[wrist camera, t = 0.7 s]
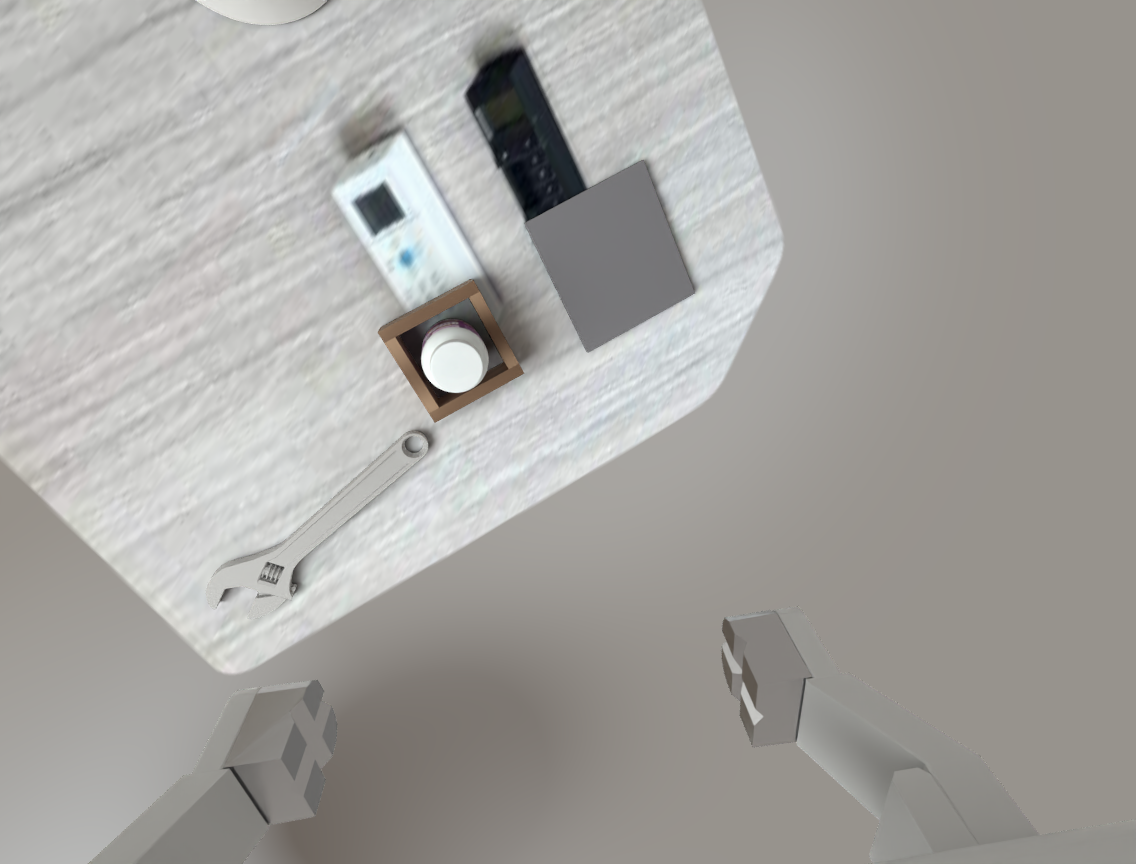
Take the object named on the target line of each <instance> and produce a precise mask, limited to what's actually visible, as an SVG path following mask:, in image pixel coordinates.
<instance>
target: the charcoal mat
mask: <svg viewBox="0 0 1136 864" xmlns="http://www.w3.org/2000/svg"><path fill="white" fill-rule="evenodd" d="M524 224H525V226H526V228H527V230H528V232H529V234H530V236H531V238H532V240H533V242H534V245H535V247H536V249H537V251H538V253H539V255H540V257H541V259H542V261H543V263H544V265H545V267H546V269H547V271H548V273H549V275H550V278H551V280H552V282H553V284H554V286H555V288H556V290H557V292H558V294H559V296H560V298H561V300H562V302H563V304H564V306H565V308H566V310H567V313H568V315H569V317H570V319H571V321H572V323H573V325H574V327H575V329H576V331H577V333H578V335H579V337H580V339H581V341H582V343H583V346H584V348H585V350H586V352H590V351H592V350H594V349H595V348H597V347H599V346H601V345H603V344H604V343H606V342H608V341H610V340H612V339H613V338H615V337H617V336H619V335H621V334H622V333H624V332H626V331H628V330H630V329H631V328H633V327H635V326H637V325H639V324H640V323H642V322H644V321H646V320H648V319H649V318H651V317H653V316H655V315H657V314H658V313H660V312H662V311H664V310H666V309H667V308H669V307H671V306H673V305H675V304H676V303H678V302H680V301H682V300H684V299H685V298H687V297H689V296H691V295H693V294H694V293H695V292H694V290H693V287H692V284H691V282H690V279H689V277H688V274H687V272H686V269H685V266H684V264H683V261H682V259H681V256H680V253H679V251H678V248H677V246H676V243H675V240H674V238H673V235H672V233H671V230H670V228H669V225H668V222H667V220H666V217H665V215H664V212H663V209H662V207H661V204H660V202H659V199H658V196H657V194H656V191H655V189H654V186H653V183H652V181H651V178H650V176H649V173H648V171H647V168H646V165H645V163H644V160H642V161H640V162H638V163H636V164H634V165H632V166H630V167H629V168H627V169H625V170H623V171H621V172H619V173H617V174H615V175H614V176H612V177H610V178H608V179H606V180H604V181H602V182H600V183H599V184H597V185H595V186H593V187H591V188H589V189H587V190H586V191H584V192H582V193H580V194H578V195H576V196H574V197H572V198H571V199H569V200H567V201H565V202H563V203H561V204H559V205H557V206H556V207H554V208H552V209H550V210H548V211H546V212H544V213H542V214H541V215H539V216H537V217H535V218H533V219H531V220H529V221H527V222H526V223H524Z"/></svg>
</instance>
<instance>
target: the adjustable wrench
mask: <svg viewBox="0 0 1136 864" xmlns="http://www.w3.org/2000/svg"><path fill="white" fill-rule="evenodd" d="M412 436H416V437H419V438H420V439H421V440H422V442H423V447H422V449H421V450H420V451H419V452H416V453H411V452H409V451H408V450H407V449H406V447H405V442H406V440H407V439H408V438H409V437H412ZM427 451H428V440H427V438H426V436H425V435H424V434H423V433H421V432H419V431H409V432H407V433H405V434H404V435H403V436H401V437H400V438H399V439H398V440H397V441H396V442H395V443H394V444H392V445H391V446H390V447H389V448H388V449H387V450H386V451H385V452H384V453H382V454H381V455H380V456H379V457H378V458H377V459H376V460H375V461H373V462H372V463H371V464H370V465H369V466H368V467H367V468H366V469H364V470H363V471H362V472H361V473H360V474H359V475H358V476H357V477H356V478H354V479H353V480H352V481H351V482H350V483H349V484H348V485H347V486H345V487H344V488H343V489H342V490H341V491H340V492H339V493H338V494H337V495H335V496H334V497H333V498H332V499H331V500H330V501H329V502H328V503H326V504H325V505H324V506H323V507H322V508H321V509H320V510H319V511H318V512H316V513H315V514H314V515H313V516H312V517H311V518H310V519H309V520H307V521H306V522H305V523H304V524H303V525H302V526H301V527H300V528H298V529H297V530H296V531H295V532H294V533H293V534H292V535H291V536H290V537H288V538H287V539H286V540H285V541H283V542H282V543H281V544H279V545H277V546H275V547H273V548H270V549H267V550H265V551H262V552H260V553H257V554H254V555H251V556H247V557H243V558H239V559H236V560H232V561H229V562H227V563H225V564H224V565H222V566H221V567H219V568H218V569H217V570H216V572H215V573H214V575H213V576H212V578H211V580H210V581H209V583H208V585H207V589H206V599H207V601H208V603H209V606H210V607H211V608H213V609H216V607H217V606H218V604H219V602H220V600H221V598H222V596H223V593H224V591H225V589H227V588H234V587H241V586H243V587H246V588H250V589H253V590H256V591H257V592H258V594H257V597H256V599H255V601H254V603H253V605H252V607H251V610H250V612H249V614H248V616H247V618H248V619H256V618H259V617H262V616H265V615H267V614H269V613H271V612H272V611H274V610H275V609H276V608H278V607H279V606H280V605H281V604H282V603H283V602H284V601H285V600H286V599H289V600H291V599H292V597H293V594H294V591H295V589H296V587H297V585H296V584H293V583H292V575H293V570H294V568H295V566H296V565H297V563H298V562H299V561H300V560H301V559H302V558H303V557H305V556H306V555H307V554H308V553H309V552H310V551H312V550H313V549H314V548H315V547H316V546H318V545H319V544H320V543H321V542H322V541H324V540H325V539H326V538H327V537H328V536H330V535H331V534H332V533H333V532H334V531H336V530H337V529H338V528H339V527H340V526H341V525H343V524H344V523H345V522H346V521H347V520H349V519H350V518H351V517H352V516H353V515H355V514H356V513H357V512H358V511H359V510H361V509H362V508H363V507H364V506H365V505H366V504H368V503H369V502H370V501H371V500H372V499H374V498H375V497H376V496H377V495H378V494H380V493H381V492H382V491H383V490H384V489H386V488H387V487H388V486H389V485H390V484H391V483H393V482H394V481H395V480H396V479H397V478H399V477H400V476H401V475H402V474H403V473H405V472H406V471H407V470H408V469H409V468H411V467H412V466H413V465H414V464H415V463H416V462H418V461H419V460H420V459H421V458H422V457H424V455H425V454H426V453H427ZM269 562H270V563H269ZM278 565H279V566H278ZM281 566H283V567H281Z"/></svg>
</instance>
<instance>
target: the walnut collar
mask: <svg viewBox="0 0 1136 864" xmlns="http://www.w3.org/2000/svg"><path fill="white" fill-rule="evenodd" d="M467 298H469V300H470V301H471V303H472V305H473V307H474V309H475V311H476V312H477V314H478V316H479V318H480V320H481V321H482V323H483V325H484V327H485V329H486V330H487V332H488V334H489V336H490V338H491V340H492V341H493V343H494V345H495V347H496V349H497V350H498V352H499V354H500V356H501V358H502V359H503V361H504V362H503V363H501V364H500V365H498V366H496V367H494V368H492V369H490V370H489V371H487V372H486V374H485V376H484V378H483V379H482V381H481V382H480V383H479V384H478V385H476V386H475V387H474V388H472V389H470V390H468V391H465V392H460V393H451V392H449V393H447V394H445V395H443V396H441V397H440V398H438V397H437V395H436V394H435V392H434V390H433V389H432V387H431V386H430V384H429V382H428V381H427V379H426V378H425V376H424V374H423V373H422V371H421V369H420V368H419V366H418V365H417V363H416V361H415V360H414V358H413V357H412V355H411V353H410V352H409V350H408V348H407V347H406V345H405V344H404V342H403V340H402V339H401V337H400V336H399V335H400V334H402V333H404V332H406V331H408V330H410V329H411V328H413V327H415V326H417V325H419V324H421V323H423V322H424V321H426V320H428V319H430V318H432V317H434V316H435V315H437V314H439V313H441V312H443V311H445V310H447V309H448V308H450V307H452V306H454V305H456V304H458V303H460V302H461V301H463V300H465V299H467ZM378 334H379V335H380V337H381V338H382V340H383V342H384V343H385V345H386V346H387V348H388V349H389V351H390V353H391V354H392V356H393V357H394V359H395V361H396V362H397V364H398V365H399V367H400V368H401V370H402V372H403V373H404V375H405V376H406V378H407V379H408V381H409V383H410V384H411V386H412V387H413V389H414V391H415V392H416V394H417V395H418V397H419V398H420V400H421V402H422V403H423V405H424V406H425V408H426V409H427V411H428V413H429V414H430V416H431V417H432V419H433V420H434V422H437V421H439V420H441V419H443V418H444V417H446V416H448V415H450V414H452V413H453V412H455V411H457V410H459V409H461V408H462V407H464V406H466V405H468V404H470V403H472V402H473V401H475V400H477V399H479V398H481V397H482V396H484V395H486V394H488V393H490V392H491V391H493V390H495V389H497V388H499V387H500V386H502V385H504V384H506V383H508V382H509V381H511V380H513V379H515V378H517V377H519V376H520V375H522V374H524V372H523V370H522V369H521V367H520V365H519V363H518V361H517V359H516V358H515V356H514V354H513V352H512V350H511V348H510V346H509V345H508V343H507V341H506V339H505V337H504V335H503V334H502V332H501V330H500V328H499V326H498V324H497V322H496V321H495V319H494V317H493V315H492V313H491V311H490V309H489V308H488V306H487V304H486V302H485V300H484V298H483V297H482V295H481V293H480V291H479V289H478V287H477V285H476V284H475V282H474V280H472V279H470V280H468V281H466V282H464V283H462V284H460V285H458V286H457V287H455V288H453V289H451V290H449V291H447V292H445V293H444V294H442V295H440V296H438V297H436V298H434V299H432V300H431V301H429V302H427V303H425V304H423V305H421V306H419V307H418V308H416V309H414V310H412V311H410V312H408V313H406V314H405V315H403V316H401V317H399V318H397V319H395V320H393V321H391V322H390V323H388V324H386V325H384V326H382V327H381V328H380V329H379V331H378Z"/></svg>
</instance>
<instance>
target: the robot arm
mask: <svg viewBox="0 0 1136 864" xmlns="http://www.w3.org/2000/svg"><path fill="white" fill-rule="evenodd" d="M196 1H197V2H199V3H200V4H202V5H204V6H205V7H207V8H209V9H211V10H212V11H214V12H216V13H219V14H221V15H223V16H226V17H228V18H231V19H234V20H237V21H241V22H245V23H250V24H257V25H278V24H285V23H289V22H293V21H296V20H299V19H301V18H303V17H306V16H308V15H309V14H311V13H313V12H314V11H316V10H317V9H318V8H320V7H321V6H322V5H323V4H324V3H325V2H326V1H327V0H196ZM722 624H723V625H722V632H723V634H724V637H725V639H726V642H725V643H724V644H723V645H722V664H723V670H724V674H725V678H726V681H727V684H728V687H729V689H730V692H731V695H733V696H734V697H735V698H737V699H738V700H739V701H740V718H741V720H742V722H743V725H744V727H745V730H746V732H747V735H748V737H749V740H750V742H751V745H752V747H759V746H768V745H775V744H783V743H791V742H797V745H798V746H799V747H800V748H801V749H802V750H803V751H804V752H806V753H807V754H808V755H809V756H810V757H811V758H812V759H813V760H814V761H815V762H816V763H817V764H818V765H820V766H821V767H822V768H823V769H824V770H825V771H826V772H827V773H828V774H829V775H831V776H832V777H833V778H834V779H835V780H836V781H837V782H838V783H839V784H840V785H841V786H843V787H844V788H845V789H846V790H847V791H848V792H849V793H850V794H851V795H852V796H853V797H854V798H856V799H857V800H858V801H859V802H860V803H861V804H862V805H863V806H864V807H865V808H866V809H868V810H869V811H870V812H871V813H872V814H873V815H874V816H875V817H876V818H877V819H879V820H880V822H879V825H878V828H877V831H876V835H875V838H874V842H873V845H872V848H871V851H870V855H869V857H870V859H871V860H872V863H869V864H1136V819H1135V820H1128V821H1122V822H1116V823H1110V824H1104V825H1098V826H1092V827H1086V828H1080V829H1073V830H1067V831H1061V832H1055V833H1049V834H1043V835H1039V833H1038V832H1037V831H1036V829H1035V828H1034V827H1033V825H1032V824H1031V823H1030V821H1029V820H1028V819H1027V817H1026V816H1025V815H1024V813H1023V812H1022V811H1021V809H1020V808H1019V807H1018V806H1017V804H1016V803H1015V801H1014V800H1013V799H1012V797H1011V796H1010V795H1009V793H1008V792H1007V791H1006V790H1005V788H1004V787H1003V786H1002V784H1001V783H1000V782H999V780H998V779H997V778H996V776H995V775H994V774H993V772H992V771H991V770H990V768H989V767H988V766H987V764H986V763H985V762H984V760H983V759H982V758H981V756H980V755H978V754H976V753H975V752H973V751H972V750H970V749H969V748H967V747H965V746H964V745H962V744H961V743H959V742H958V741H956V740H954V739H953V738H951V737H950V736H948V735H947V734H945V733H943V732H942V731H940V730H939V729H937V728H935V727H934V726H933V725H931V724H929V723H928V722H926V721H925V720H923V719H921V718H920V717H918V716H917V715H915V714H913V713H912V712H910V711H909V710H907V709H906V708H904V707H903V706H901V705H899V704H898V703H896V702H895V701H893V700H892V699H890V698H888V697H887V696H885V695H884V694H882V693H881V692H879V691H877V690H876V689H874V688H873V687H871V686H870V685H868V684H867V683H865V682H863V681H862V680H860V679H859V678H857V677H856V676H854V675H852V674H851V673H841V671H840V670H839V668H838V666H837V665H836V664H835V662H834V660H833V658H832V657H831V655H830V654H829V652H828V650H827V649H826V647H825V646H824V644H823V642H822V641H821V639H820V638H819V636H818V634H817V633H816V632H815V630H814V628H813V626H812V625H811V623H810V621H809V620H808V618H807V617H806V615H805V614H804V612H803V610H802V609H800V608H799V607H798V606H797V607H790V608H784V609H777V610H773V611H771V610H768V611H762V612H756V613H750V614H743V615H738V616H732V617H725V618H724V620H723V623H722ZM323 693H324V690H323V688H322V686H321V684H320V683H319V681H318V680H312V681H305V682H296V683H288V684H281V685H272V686H264V687H258V688H250V689H243V690H237V691H236V692H235V693H234V694H233V695H232V696H231V697H230V698H229V700H228V702H227V704H226V706H225V708H224V710H223V712H222V714H221V716H220V718H219V720H218V722H217V724H216V726H215V728H214V730H213V732H212V734H211V736H210V738H209V740H208V742H207V744H206V746H205V748H204V750H203V752H202V754H201V756H200V758H199V760H198V762H197V764H196V766H195V768H194V770H193V772H192V774H189V775H184V776H182V778H180V779H179V780H178V781H177V782H176V783H175V784H174V785H173V786H172V787H171V788H169V789H168V790H167V791H166V792H165V793H164V794H163V795H162V796H161V797H160V798H159V799H158V800H156V801H155V802H154V803H153V804H152V805H151V806H150V807H149V808H148V809H147V810H146V811H145V812H144V813H142V814H141V815H140V816H139V817H138V818H137V819H136V820H135V821H134V822H133V823H132V824H131V825H130V826H128V827H127V828H126V829H125V830H124V831H123V832H122V833H121V834H120V835H119V836H118V837H117V838H115V839H114V840H113V841H112V842H111V843H110V844H109V845H108V846H107V847H106V848H105V849H103V850H102V851H101V852H100V853H99V854H98V855H97V856H96V857H95V858H94V859H93V860H92V861H90V862H89V863H88V864H243V862H244V861H245V860H246V858H247V857H248V856H249V854H250V853H251V851H252V850H253V849H254V848H255V847H256V845H257V844H258V843H259V841H260V840H261V838H262V837H263V836H264V834H265V833H266V832H267V831H268V829H269V826H268V825H272V824H278V823H283V822H288V821H293V820H299V819H304V818H310V817H315V815H316V812H317V809H318V805H319V802H320V798H321V795H322V791H323V788H324V784H325V780H326V779H325V777H324V775H323V773H322V771H321V769H322V767H323V766H324V765H325V764H326V763H327V762H328V761H329V760H330V758H331V757H332V756H333V752H334V748H335V744H336V737H337V721H336V716H335V713H334V710H333V708H332V706H331V705H329V704H327V703H325V702H324V701H322V696H323Z"/></svg>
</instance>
